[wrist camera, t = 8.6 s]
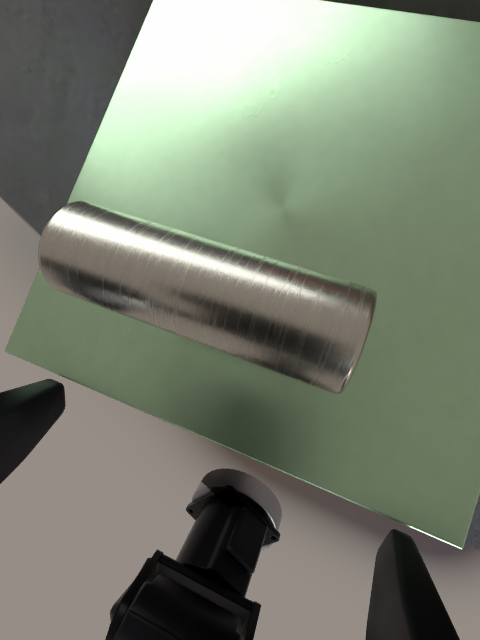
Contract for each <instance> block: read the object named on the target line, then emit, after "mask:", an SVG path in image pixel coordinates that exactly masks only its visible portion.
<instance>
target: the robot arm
mask: <svg viewBox="0 0 480 640" xmlns="http://www.w3.org/2000/svg"><path fill="white" fill-rule="evenodd" d="M64 409H65V392H64V386H63V384H62V383H59V382H57V381H55V380H52V379H46V380H43V381H39V382H36V383H32V384H29V385H25V386H22V387H19V388H15V389H12V390H8V391H5V392H1V393H0V484H1V483H2V481H4V480H5V478H7V477H8V476H9V475H10V474H11V473H12V472H13V471H14V470H15V468H17V466H19V464H20V463H21V462H22V461H23V460H24V459H25V458H26V457H27V456H28V455H29V453H30V452H31V451H32V450H33V449H34V447H35V446H36V445H37V444H38V443H39V441H40V440H41V439H42V438H43V436H44V435H45V434H46V433H47V432H48V430H49V429H50V428H51V427H52V425H53V424H54V423H55V422H56V421H57V419H58V418H59V417H60V416H61V414H62V413H63V411H64ZM186 511H187V512H188V513H189V514H190V515H191V516H192V517H193V518H194V519H195V520H196V521H195V523H194V525H193V527H192V529H191V531H190V533H189V535H188V537H187V539H186V541H185V543H184V545H183V547H182V549H181V551H180V553H179V555H178V557H177V559H176V560H173V559H171V558H170V557H168V556H166V555H164V554H163V552H161V551H159V550H157V551H156V552H155V553H154V555H153V556H152V558H148V559H147V560H146V562H145V564H144V565H143V567H142V569H141V571H140V572H139V574H138V576H137V577H136V579H135V580H134V581H133V583H132V584H131V585H130V586H129V587H128V589H127V590H126V591H125V592H124V593H123V594H122V596H121V597H120V598H119V599H118V600H117V601H116V603H115V604H114V605H113V607H112V609H111V611H110V618H111V624H110V627H109V631H108V634H107V636H106V640H253V638H254V633H255V629H256V625H257V621H258V616H259V612H260V608H261V605H260V604H259V603H257V602H255V601H254V602H252V601H250V600H248V599H246V598H245V595H246V592H247V588H248V586H249V582H250V579H251V576H252V573H254V571H255V568H256V564H257V561H258V558H259V555H260V552H261V548H262V547H263V546H266V545H269V544H272V543H275V542H278V541H279V538H280V533H279V532H278V531H277V530H276V529H275V528H274V527H273V526H272V525H271V524H270V523H269V522H268V521H267V520H266V519H265V518H264V517H263V516H262V515H261V514H260V513H259V512H258V511H257V510H256V509H255V508H254V507H253V506H252V505H251V504H250V503H249V502H248V501H247V500H246V499H245V498H244V497H243V496H242V495H241V494H240V493H239V492H238V491H237V490H236V489H235V488H234V487H233V486H231V485H226V486H224V487H222V488H220V489H218V490H216V491H214V492H212V493H210V494H208V495H206V496H204V497H202V498H200V499H198V500H196V501H194V502H192V503H190V504H188V506H187V508H186ZM366 640H460V639H459V637H458V635H457V633H456V630H455V628H454V626H453V624H452V622H451V620H450V617H449V615H448V613H447V611H446V609H445V607H444V605H443V602H442V600H441V598H440V596H439V594H438V592H437V590H436V588H435V585H434V583H433V581H432V579H431V577H430V574H429V572H428V570H427V568H426V566H425V564H424V562H423V559H422V557H421V555H420V553H419V551H418V549H417V547H416V544H415V542H414V540H413V539H412V538H411V536H409V535H407V534H405V533H403V532H400V531H398V530H395V529H393V530H391V531H390V532H389V534H388V535H387V537H386V538H385V540H384V541H383V543H382V544H381V546H380V547H379V549H378V552H377V555H376V561H375V569H374V576H373V583H372V590H371V598H370V605H369V613H368V620H367V629H366Z"/></svg>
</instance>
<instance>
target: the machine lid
mask: <svg viewBox="0 0 480 640" xmlns="http://www.w3.org/2000/svg"><path fill="white" fill-rule="evenodd" d="M38 251H39V252H38V257H39V265H40V268H39V271H38V273H37V275H36V278H35V280H34V282H33V285H32V287H31V289H30V292H29V294H28V297H27V299H26V301H25V304H24V306H23V308H22V311H21V313H20V315H19V318H18V320H17V322H16V325H15V327H14V330H13V332H12V334H11V337H10V339H9V341H8V344H7V346H6V349H5V352H7V353H9V354H12V355H14V356H16V357H19V358H21V359H23V360H25V361H28V362H30V363H33V364H35V365H37V366H40V367H42V368H44V369H46V370H49V371H51V372H53V373H55V374H58V375H60V376H62V377H65V378H67V379H69V380H72V381H74V382H76V383H79V384H81V385H83V386H85V387H88V388H90V389H92V390H95V391H97V392H99V393H102V394H104V395H106V396H108V397H111V398H113V399H115V400H118V401H120V402H122V403H125V404H127V405H129V406H132V407H134V408H136V409H138V410H141V411H143V412H145V413H148V414H150V415H152V416H155V417H157V418H160V419H162V420H164V421H166V422H169V423H171V424H173V425H175V426H178V427H180V428H182V429H185V430H187V431H189V432H192V433H194V434H196V435H199V436H201V437H203V438H205V439H208V440H210V441H212V442H215V443H217V444H219V445H222V446H224V447H226V448H228V449H231V450H233V451H235V452H238V453H240V454H242V455H245V456H247V457H249V458H252V459H254V460H256V461H258V462H261V463H263V464H265V465H268V466H270V467H272V468H275V469H277V470H279V471H282V472H284V473H286V474H288V475H291V476H293V477H296V478H298V479H300V480H302V481H305V482H307V483H309V484H312V485H314V486H316V487H318V488H321V489H323V490H325V491H328V492H330V493H332V494H335V495H337V496H339V497H342V498H344V499H346V500H348V501H351V502H353V503H355V504H358V505H360V506H362V507H365V508H367V509H369V510H372V511H374V512H376V513H378V514H381V515H383V516H385V517H388V518H390V519H393V520H395V521H397V522H399V523H402V524H404V525H406V526H408V527H411V528H413V529H416V530H418V531H420V532H423V533H425V534H427V535H429V536H432V537H434V538H436V539H438V540H441V541H443V542H445V543H448V544H450V545H452V546H455V547H457V548H459V549H463V547H464V544H465V540H466V537H467V534H468V530H469V527H470V524H471V520H472V517H473V513H474V510H475V507H476V503H477V500H478V497H479V493H480V22H477V21H470V20H463V19H455V18H448V17H441V16H434V15H426V14H419V13H412V12H405V11H397V10H390V9H383V8H376V7H368V6H361V5H354V4H347V3H339V2H332V1H325V0H153V1H152V4H151V6H150V9H149V11H148V13H147V16H146V18H145V20H144V23H143V25H142V27H141V30H140V32H139V35H138V37H137V39H136V42H135V44H134V46H133V49H132V51H131V53H130V56H129V58H128V61H127V63H126V65H125V68H124V70H123V72H122V75H121V77H120V79H119V82H118V84H117V86H116V89H115V91H114V94H113V96H112V98H111V101H110V103H109V105H108V108H107V110H106V112H105V115H104V117H103V120H102V122H101V124H100V127H99V129H98V131H97V134H96V136H95V138H94V141H93V143H92V145H91V148H90V150H89V153H88V155H87V157H86V160H85V162H84V164H83V167H82V169H81V171H80V174H79V176H78V179H77V181H76V183H75V186H74V188H73V190H72V193H71V195H70V197H69V200H68V202H67V204H66V205H64V206H62V207H61V208H60V209H58V210H57V211H56V212H55V213H54V214H53V215H52V216H51V218H50V219H49V221H48V222H47V224H46V226H45V228H44V230H43V232H42V235H41V239H40V242H39V250H38Z"/></svg>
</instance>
